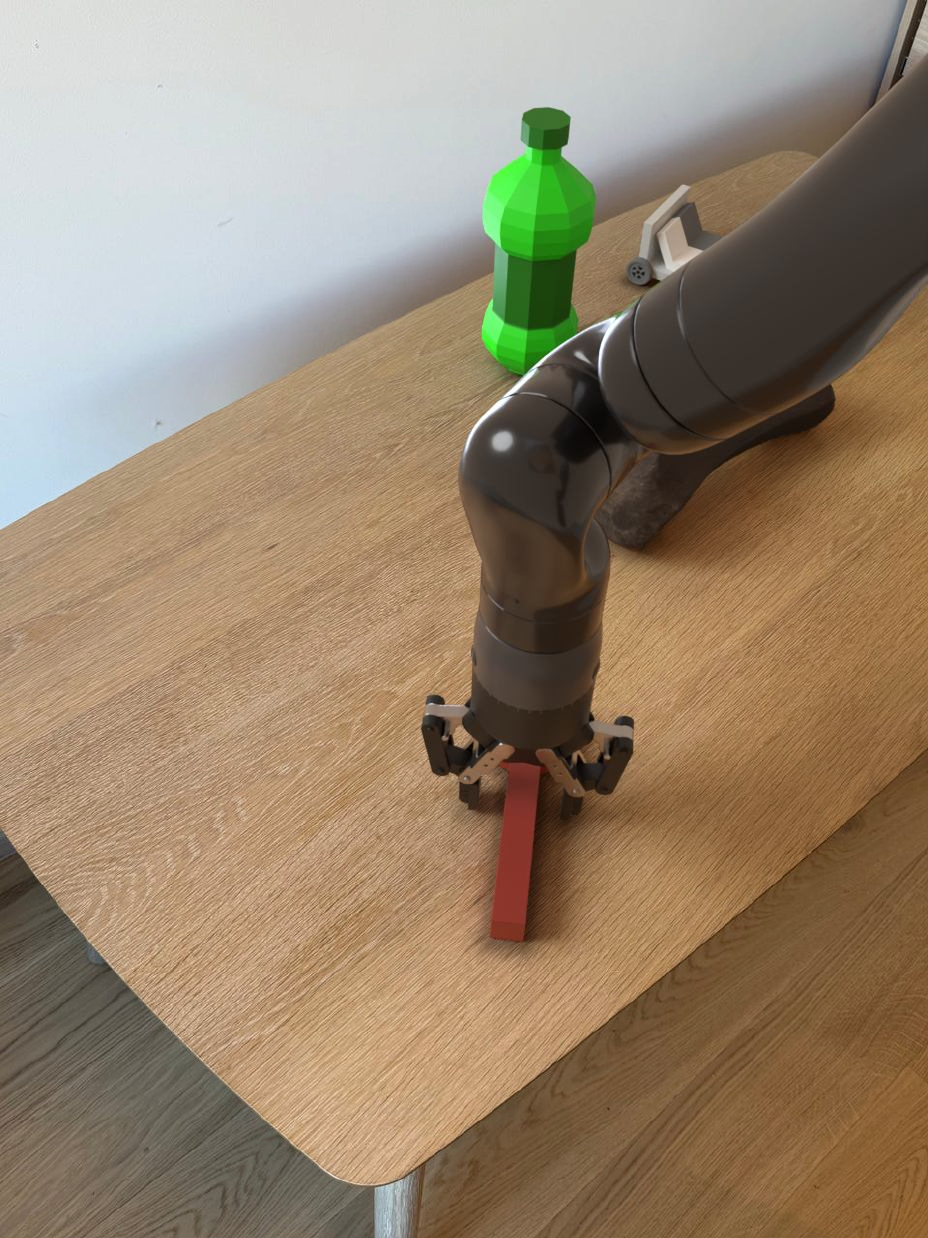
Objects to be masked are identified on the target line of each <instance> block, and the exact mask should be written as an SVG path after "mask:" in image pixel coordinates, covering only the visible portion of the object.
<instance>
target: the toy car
mask: <svg viewBox="0 0 928 1238" xmlns="http://www.w3.org/2000/svg"><path fill="white" fill-rule="evenodd" d="M690 191H691V186H690V185H686V184H683V183H682V184H681V185H680V186H679V187H678V188H677V189H676V190H675V191H674V192H673V193H672V194H671V195H670V196H669V197H668V198H667V199H666V200H665V201H664V202H663V203H662V204H661V205H660V206H659V207H658V208H657V209H656V210H655V211H654V212H653V213H652V214H651V215H650V216H649V217H648V218H647V219H646V220H645V221H644V222H643V227H642V233H641V238H640V239H641V240H640V246H639V252H638V256H637V257H634V258H632V259H631V260H630V261H629V262H628V263H627V265H626V266H625V267H626V268H625V274H626V277H627V278H628V280H629V281H630V282H631V283H633V284H634V285H638V286H644V285H646V284H647V283H649V282H650V281H651V279H655V280H658V281H662V280H663V279H665V278H666V277H667V276H669V275H670V274H672V273H673V272H674V271H676V270H677V269H679V268H680V267H681V266H683V265H684V264H686V263H687V262H688V261H690V260H691V259H693V258H694V257H696V256H697V255H698V254H700V253H701V252H703V251H704V250H706V249H707V248H708V247H710V246H711V245H713V244H714V243H715V242H717V241H718V240H720V239H721V238H723V237H724V236H721V235H719V234H716V233H713V232H709V231H706V230H703V227H702V223H701V220H700V217H699V213H698V210H697V206H696V202H695V201H689V196H690Z"/></svg>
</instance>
